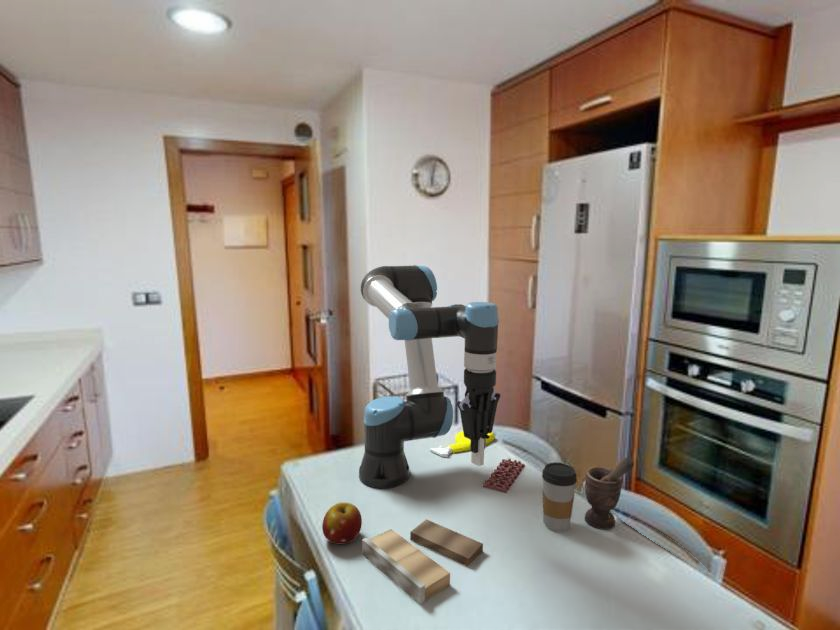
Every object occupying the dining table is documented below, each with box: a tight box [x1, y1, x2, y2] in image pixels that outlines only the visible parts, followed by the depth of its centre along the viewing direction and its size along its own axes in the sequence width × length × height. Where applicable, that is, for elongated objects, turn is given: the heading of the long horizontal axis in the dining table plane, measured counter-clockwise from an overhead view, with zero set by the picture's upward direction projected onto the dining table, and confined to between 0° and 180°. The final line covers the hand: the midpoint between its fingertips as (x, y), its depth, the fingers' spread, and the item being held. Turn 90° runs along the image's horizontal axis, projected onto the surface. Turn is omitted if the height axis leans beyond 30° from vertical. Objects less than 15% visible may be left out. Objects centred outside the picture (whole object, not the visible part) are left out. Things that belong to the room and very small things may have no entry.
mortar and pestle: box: [584, 456, 635, 530], centre depth 122 cm, size 12×9×20 cm
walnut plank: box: [410, 518, 484, 568], centre depth 114 cm, size 16×6×2 cm, turn 54°
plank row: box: [361, 528, 451, 605], centre depth 106 cm, size 20×8×4 cm, turn 41°
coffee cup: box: [541, 462, 577, 533], centre depth 122 cm, size 8×8×15 cm
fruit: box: [321, 501, 363, 545], centre depth 116 cm, size 10×9×8 cm
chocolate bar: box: [482, 458, 526, 494], centre depth 148 cm, size 7×19×2 cm, turn 152°
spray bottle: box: [429, 430, 496, 459], centre depth 169 cm, size 3×11×25 cm
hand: (477, 463), depth 118 cm, fingers closed
